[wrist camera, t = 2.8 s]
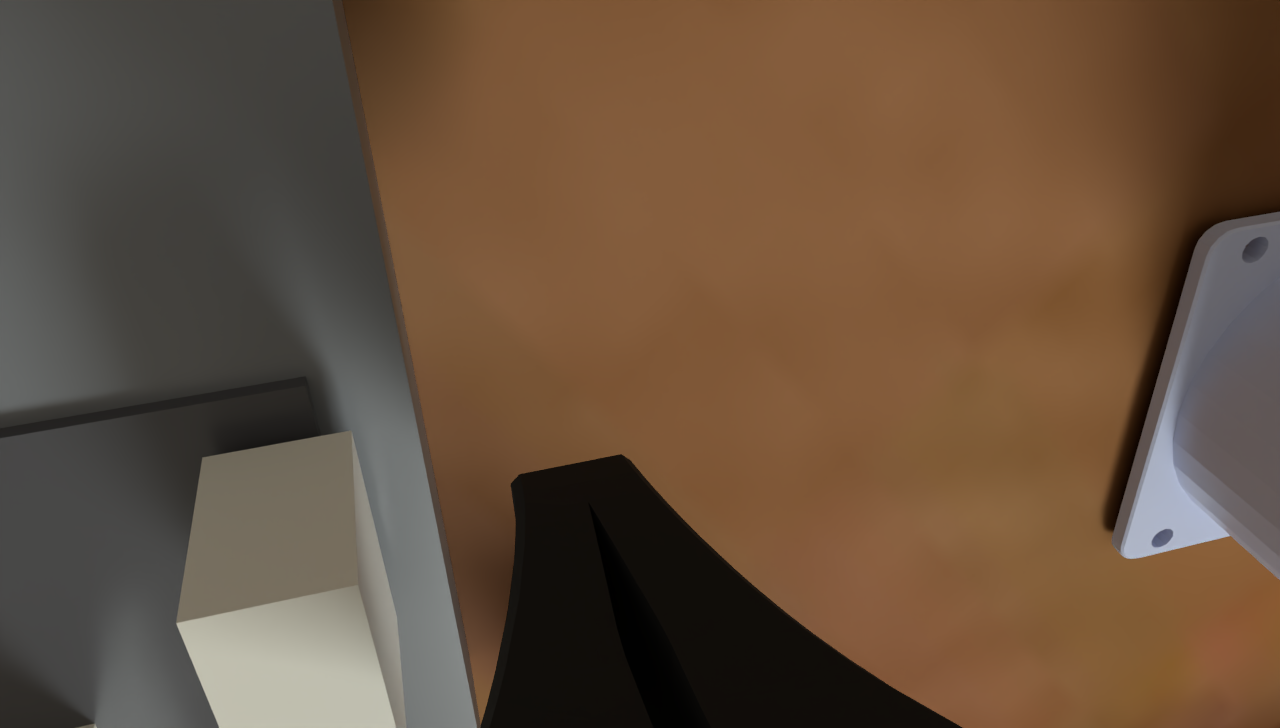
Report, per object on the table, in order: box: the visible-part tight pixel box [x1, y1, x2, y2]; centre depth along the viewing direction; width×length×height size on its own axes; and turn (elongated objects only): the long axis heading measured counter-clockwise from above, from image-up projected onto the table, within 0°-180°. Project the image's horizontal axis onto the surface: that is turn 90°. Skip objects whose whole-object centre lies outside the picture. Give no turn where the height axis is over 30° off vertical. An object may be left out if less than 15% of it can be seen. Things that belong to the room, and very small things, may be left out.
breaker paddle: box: [176, 431, 406, 728], centre depth 11 cm, size 2×3×2 cm, turn 2°
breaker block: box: [0, 0, 481, 728], centre depth 12 cm, size 7×14×6 cm, turn 2°
